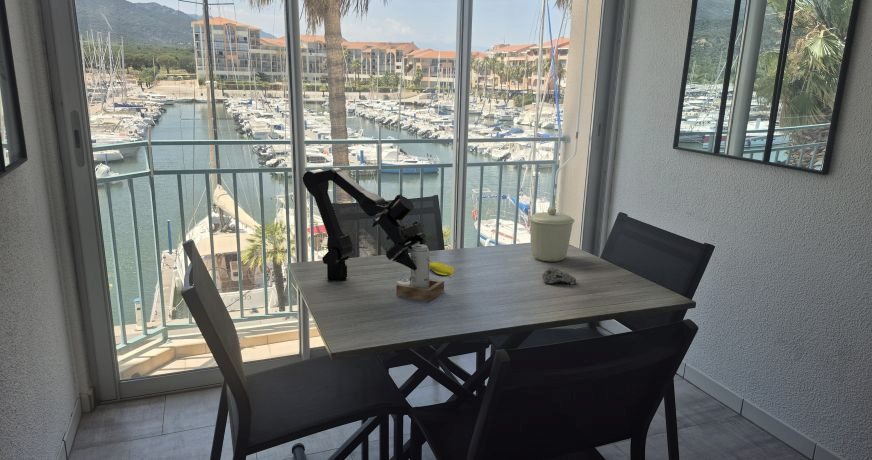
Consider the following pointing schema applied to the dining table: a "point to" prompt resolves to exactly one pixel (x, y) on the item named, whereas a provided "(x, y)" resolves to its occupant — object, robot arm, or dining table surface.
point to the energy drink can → (420, 266)
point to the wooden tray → (421, 290)
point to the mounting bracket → (404, 282)
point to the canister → (550, 235)
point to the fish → (441, 268)
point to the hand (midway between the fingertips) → (422, 265)
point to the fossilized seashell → (557, 276)
